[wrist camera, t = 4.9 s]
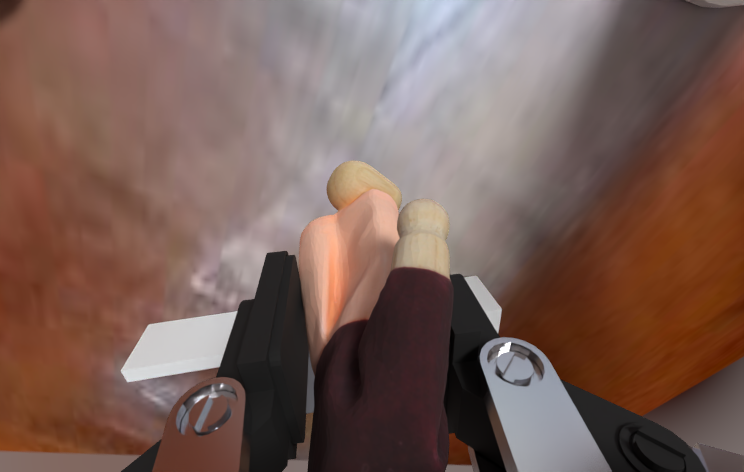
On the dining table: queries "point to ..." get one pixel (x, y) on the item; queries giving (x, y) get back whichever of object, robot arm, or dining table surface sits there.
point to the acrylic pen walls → (219, 341)
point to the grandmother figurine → (377, 327)
